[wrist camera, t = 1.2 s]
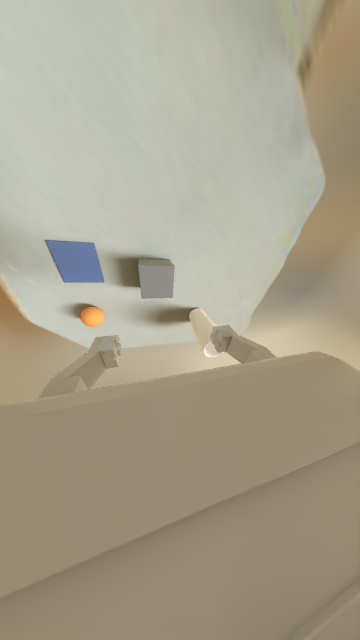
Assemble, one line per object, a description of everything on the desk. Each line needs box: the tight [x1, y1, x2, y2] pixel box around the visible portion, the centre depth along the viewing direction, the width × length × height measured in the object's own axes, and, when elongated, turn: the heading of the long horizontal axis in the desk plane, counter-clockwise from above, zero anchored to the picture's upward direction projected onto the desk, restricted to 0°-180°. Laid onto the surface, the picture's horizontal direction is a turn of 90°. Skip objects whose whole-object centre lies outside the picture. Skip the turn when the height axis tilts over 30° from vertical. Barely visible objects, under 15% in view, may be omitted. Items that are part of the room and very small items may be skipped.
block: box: [138, 258, 174, 298], centre depth 30 cm, size 7×7×6 cm
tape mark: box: [45, 240, 104, 282], centre depth 27 cm, size 8×8×1 cm
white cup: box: [189, 308, 223, 357], centre depth 37 cm, size 7×7×15 cm
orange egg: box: [80, 307, 104, 327], centre depth 32 cm, size 5×5×5 cm
